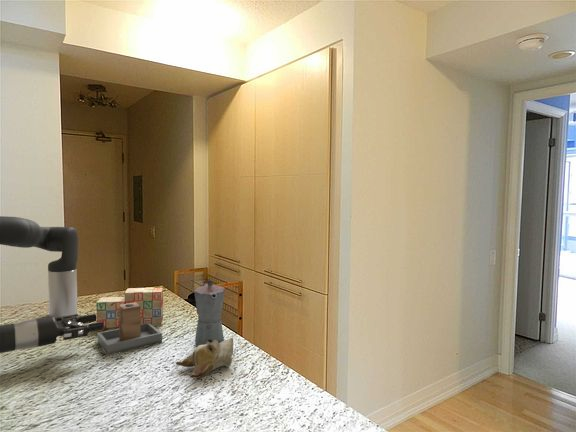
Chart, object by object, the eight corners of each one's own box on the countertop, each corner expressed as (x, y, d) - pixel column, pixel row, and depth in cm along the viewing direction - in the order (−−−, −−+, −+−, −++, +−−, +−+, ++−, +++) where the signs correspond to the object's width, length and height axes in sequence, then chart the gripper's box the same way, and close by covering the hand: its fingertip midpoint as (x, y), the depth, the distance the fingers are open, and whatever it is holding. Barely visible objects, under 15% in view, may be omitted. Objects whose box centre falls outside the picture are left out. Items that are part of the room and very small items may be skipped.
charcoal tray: (97, 342, 121) (97, 332, 121) (148, 331, 131) (148, 322, 131) (107, 355, 112) (107, 345, 112) (162, 342, 122) (162, 333, 122)
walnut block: (119, 339, 122) (118, 304, 121) (135, 335, 125) (135, 301, 124) (123, 344, 118) (123, 308, 117) (140, 340, 121) (140, 305, 120)
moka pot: (199, 354, 114) (200, 287, 113) (187, 335, 128) (187, 276, 127) (230, 348, 119) (231, 283, 117) (215, 331, 132) (216, 273, 131)
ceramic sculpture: (242, 338, 104) (189, 355, 95) (243, 369, 105) (191, 388, 96) (223, 326, 113) (173, 341, 104) (224, 355, 113) (175, 372, 104)
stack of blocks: (96, 328, 133) (95, 293, 132) (101, 322, 139) (100, 288, 138) (161, 325, 137) (161, 291, 137) (163, 319, 144) (163, 286, 143)
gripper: (37, 327, 100) (105, 315, 110) (31, 312, 111) (93, 303, 121) (38, 355, 100) (105, 341, 110) (32, 338, 111) (94, 326, 122)
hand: (99, 321), depth 116 cm, fingers open, 8 cm apart
